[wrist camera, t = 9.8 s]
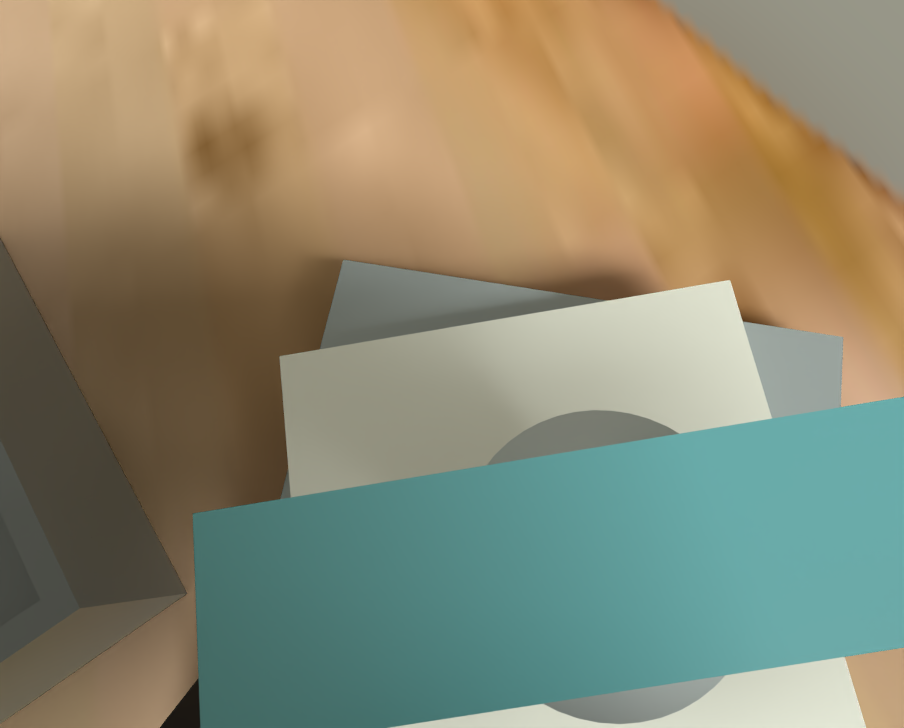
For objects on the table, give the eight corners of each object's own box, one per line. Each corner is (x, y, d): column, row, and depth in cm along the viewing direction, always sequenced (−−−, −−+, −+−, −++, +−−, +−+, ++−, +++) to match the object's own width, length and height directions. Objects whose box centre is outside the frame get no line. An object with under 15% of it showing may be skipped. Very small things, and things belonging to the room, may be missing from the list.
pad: (786, 914, 14) (820, 956, 13) (229, 770, 16) (202, 792, 14) (814, 354, 17) (842, 337, 16) (354, 281, 19) (343, 259, 18)
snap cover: (855, 783, 13) (1949, 1493, 3) (336, 861, 14) (-119, 1745, 4) (713, 299, 16) (1051, -95, 6) (294, 369, 17) (-11, 96, 7)
